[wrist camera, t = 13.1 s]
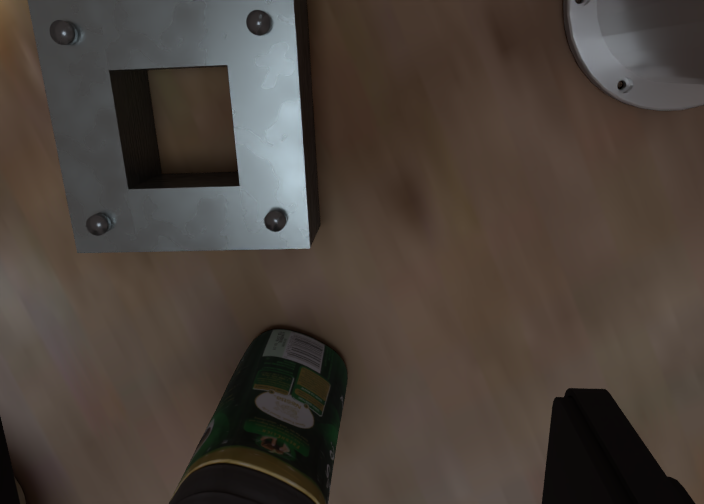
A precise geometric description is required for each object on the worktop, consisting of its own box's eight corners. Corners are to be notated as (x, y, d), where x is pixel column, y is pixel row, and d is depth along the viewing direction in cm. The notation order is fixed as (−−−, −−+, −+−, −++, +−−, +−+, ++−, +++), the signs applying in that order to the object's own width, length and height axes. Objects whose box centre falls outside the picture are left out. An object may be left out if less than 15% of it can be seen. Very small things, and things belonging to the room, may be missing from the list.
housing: (306, -5, 33) (290, -19, 28) (320, 225, 38) (308, 251, 32) (77, 7, 35) (20, -4, 29) (116, 230, 39) (72, 256, 33)
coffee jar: (312, 456, 43) (257, 721, 26) (215, 414, 43) (93, 657, 25) (366, 354, 40) (347, 575, 23) (264, 308, 40) (163, 498, 22)
